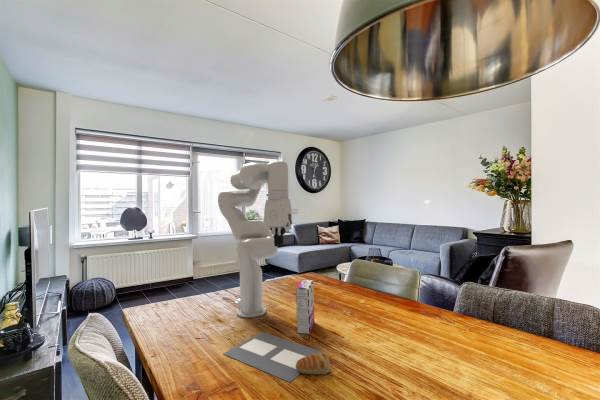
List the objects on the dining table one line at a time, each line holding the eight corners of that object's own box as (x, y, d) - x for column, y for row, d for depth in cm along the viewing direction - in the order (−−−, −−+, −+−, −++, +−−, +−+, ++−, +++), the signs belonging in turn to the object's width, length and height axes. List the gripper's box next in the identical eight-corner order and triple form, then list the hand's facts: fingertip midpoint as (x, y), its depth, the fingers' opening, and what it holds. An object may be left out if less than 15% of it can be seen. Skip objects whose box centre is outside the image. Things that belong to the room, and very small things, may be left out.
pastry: (299, 378, 77) (299, 364, 77) (293, 364, 83) (293, 351, 83) (332, 373, 79) (332, 359, 79) (324, 360, 85) (324, 347, 85)
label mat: (223, 354, 90) (223, 353, 90) (262, 332, 105) (262, 331, 105) (290, 382, 75) (290, 381, 75) (324, 352, 90) (324, 351, 90)
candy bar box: (302, 321, 114) (301, 279, 115) (314, 322, 113) (314, 280, 114) (296, 333, 103) (295, 287, 104) (310, 334, 102) (309, 288, 103)
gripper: (255, 196, 107) (256, 245, 107) (288, 194, 98) (289, 249, 98) (269, 196, 113) (269, 243, 113) (300, 195, 105) (301, 246, 104)
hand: (278, 245), depth 106 cm, fingers closed
